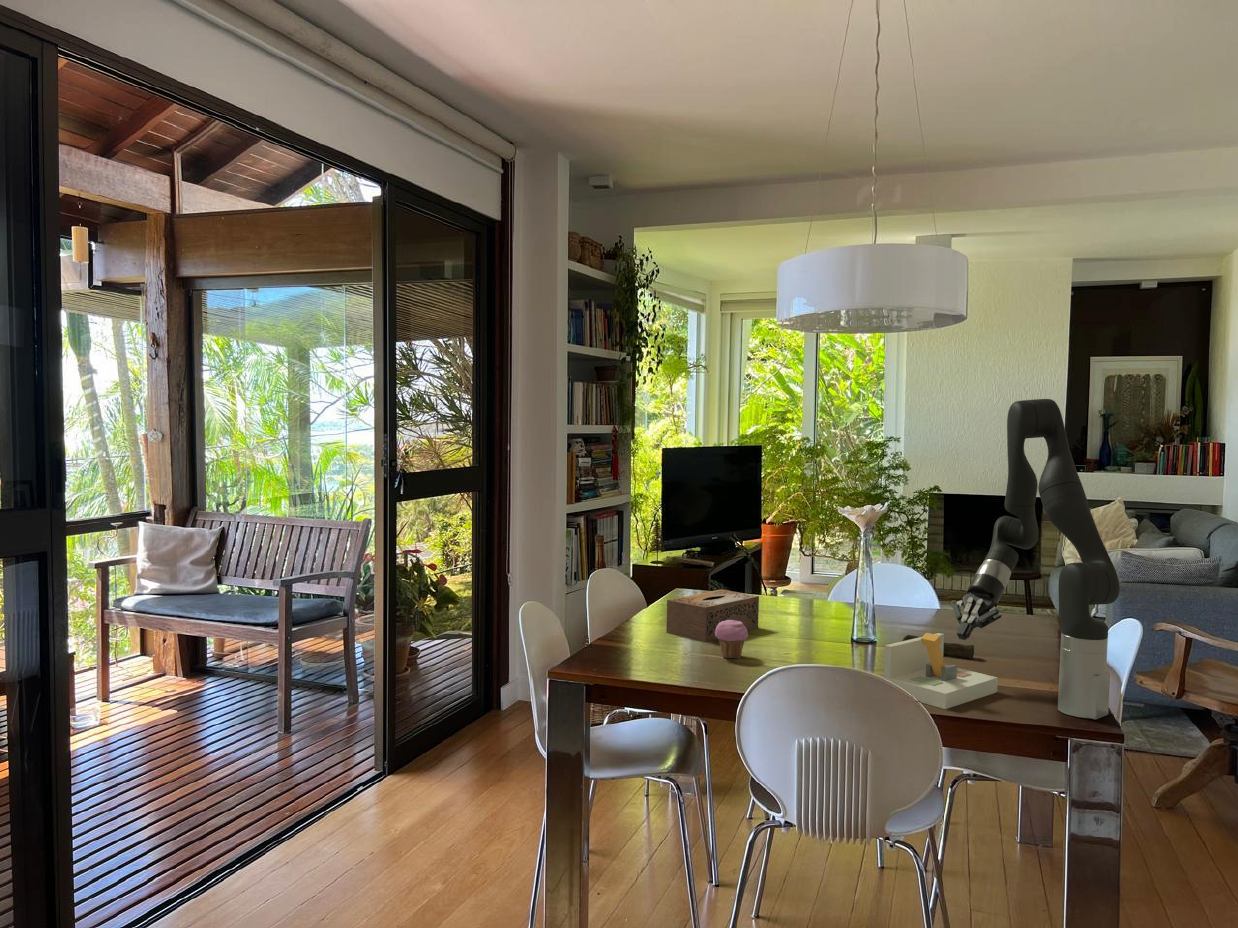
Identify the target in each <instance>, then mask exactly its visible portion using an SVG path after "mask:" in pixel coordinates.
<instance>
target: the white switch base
mask: <svg viewBox="0 0 1238 928" xmlns="http://www.w3.org/2000/svg"><path fill="white" fill-rule="evenodd" d="M934 634H935V635H940V637H941V641H942V643H941V644H940V645H939V646H940V650H941V654H942V657H943V658H944V654H943V650H944V643H945V634H944V633H940V632H938V633H934ZM918 637H919V638H915V639H910V640H906V641H903V640H901V641H898V642H894V643H890V644H885V646H884V650H885V651H884V670H883V671H884V675H883V679H884V678H886V679H887V680H889V681H891V682H893V683H895V684H897V685H899V686H901V687H902V688H904V689H905V690H906V691H908V692H909V693H911V694H912V695H913V696H914V697H915V698H916V699H918V700H919V701H920V702H919V703H922V704H925V705H926V704H927V705H929V706H933V707H936V708H940V709H943V710H947V709H950V708H953V707H956V706H959V705H962V704H965V703H969V702H972V701H974V700H977V699H981V698H984V697H987V696H990V695H993V694H995V693H998V680H999V679H998V678H999V677H996V676H993V675H989V674H985V673H980V672H977V671H974V670H973V671H972V670H969V669H964V668H960V667H958V665H957V664H950V665H949V664H944V665H945V667H942V668H941V676H937V675H934V673H933V669H932V666H931V662H930V658H929V654H928V651H927V647H926V646H923V644H922V641H921V638H922V637H923V636H918Z"/></svg>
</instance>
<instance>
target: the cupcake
mask: <svg viewBox="0 0 1238 928" xmlns="http://www.w3.org/2000/svg"><path fill="white" fill-rule="evenodd" d="M748 631H749V630H748ZM748 631H747V629H746V627H745V626H744V625H743V623H742V622H740V621H735V620H726V621H722V622H720V623H719V624H718V625H717V627H716V630H715V636H716V637H717V639H718V642H719V648H720V653H721V655H722V656H723V658H726V659H740V658H741V657H742V652H743V647H744V644H745V641H746V640H747V638H748V637H749V633H748Z"/></svg>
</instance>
